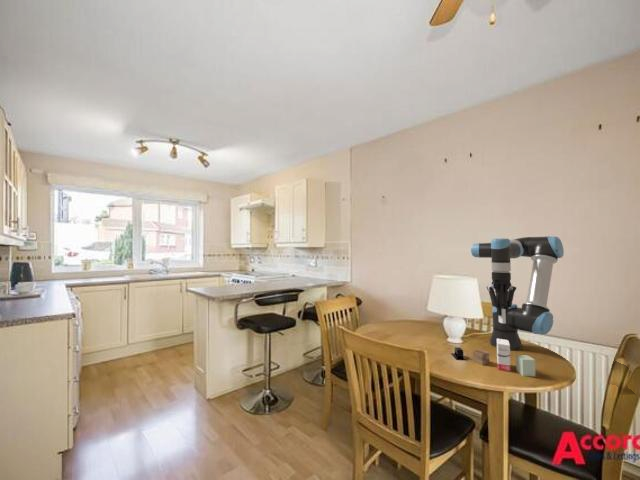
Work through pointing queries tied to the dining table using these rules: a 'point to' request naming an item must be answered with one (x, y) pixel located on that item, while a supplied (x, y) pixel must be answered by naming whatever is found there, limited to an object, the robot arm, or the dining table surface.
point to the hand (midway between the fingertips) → (502, 322)
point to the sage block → (525, 365)
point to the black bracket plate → (458, 354)
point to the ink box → (503, 355)
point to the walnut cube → (481, 357)
